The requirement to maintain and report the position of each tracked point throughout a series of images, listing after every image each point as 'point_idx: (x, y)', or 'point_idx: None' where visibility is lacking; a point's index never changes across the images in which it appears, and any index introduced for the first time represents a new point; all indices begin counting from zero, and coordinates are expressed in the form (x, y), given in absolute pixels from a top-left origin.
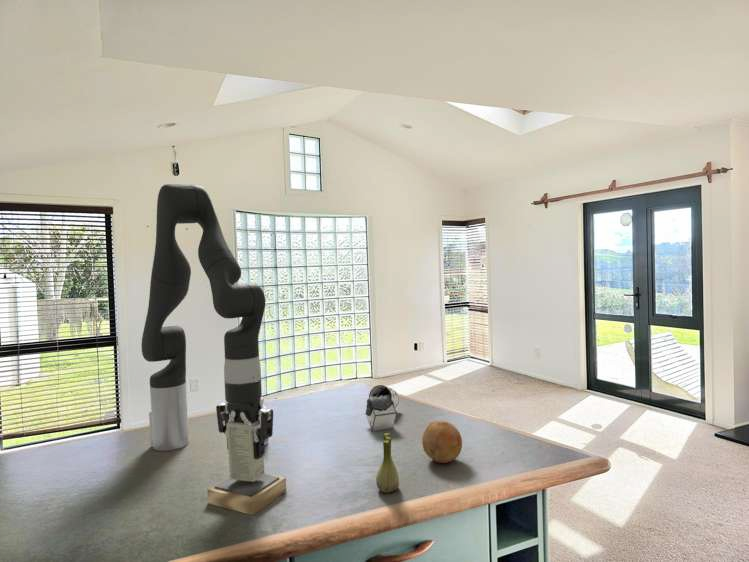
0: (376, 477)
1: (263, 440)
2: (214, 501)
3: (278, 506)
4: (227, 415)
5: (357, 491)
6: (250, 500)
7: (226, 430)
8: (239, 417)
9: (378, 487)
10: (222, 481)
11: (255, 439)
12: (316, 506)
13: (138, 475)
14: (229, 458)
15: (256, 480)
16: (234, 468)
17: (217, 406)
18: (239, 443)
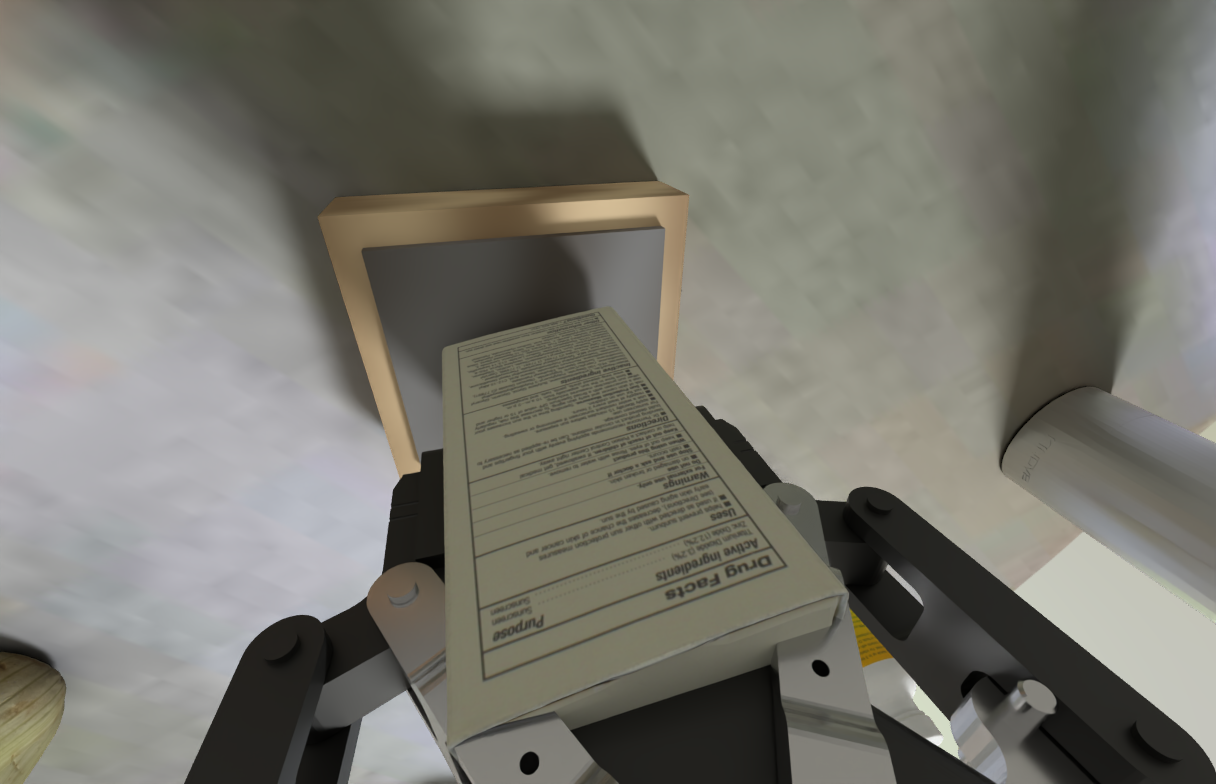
0: (11, 706)
1: (278, 621)
2: (619, 186)
3: (303, 334)
4: (937, 679)
5: (115, 598)
6: (331, 215)
7: (815, 527)
8: (725, 773)
9: (4, 663)
10: (672, 302)
11: (401, 586)
12: (126, 429)
13: (1082, 223)
14: (649, 363)
15: None
16: (591, 341)
17: (1196, 768)
18: (585, 474)
